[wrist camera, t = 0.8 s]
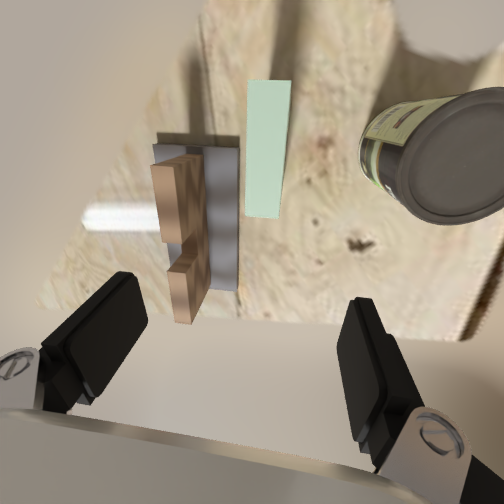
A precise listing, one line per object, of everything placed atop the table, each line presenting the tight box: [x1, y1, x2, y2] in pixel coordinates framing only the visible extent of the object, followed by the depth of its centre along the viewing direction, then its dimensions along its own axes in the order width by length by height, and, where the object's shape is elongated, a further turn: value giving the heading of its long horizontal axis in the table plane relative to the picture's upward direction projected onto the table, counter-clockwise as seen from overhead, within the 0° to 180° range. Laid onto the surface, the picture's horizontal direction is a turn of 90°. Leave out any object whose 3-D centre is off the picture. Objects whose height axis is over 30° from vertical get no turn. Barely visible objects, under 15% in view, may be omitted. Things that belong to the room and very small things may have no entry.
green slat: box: [245, 80, 291, 219], centre depth 26 cm, size 3×10×16 cm, turn 178°
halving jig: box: [150, 143, 239, 324], centre depth 36 cm, size 24×12×12 cm, turn 178°
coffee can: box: [358, 87, 504, 225], centre depth 25 cm, size 10×10×14 cm
